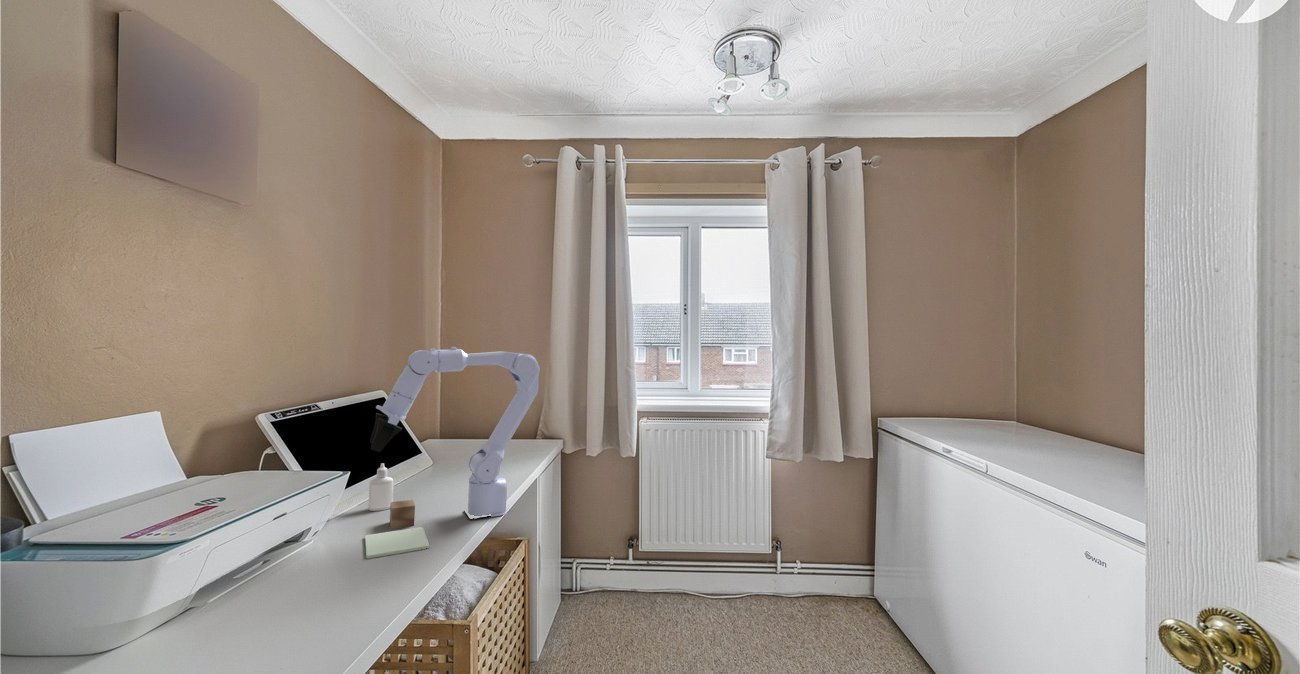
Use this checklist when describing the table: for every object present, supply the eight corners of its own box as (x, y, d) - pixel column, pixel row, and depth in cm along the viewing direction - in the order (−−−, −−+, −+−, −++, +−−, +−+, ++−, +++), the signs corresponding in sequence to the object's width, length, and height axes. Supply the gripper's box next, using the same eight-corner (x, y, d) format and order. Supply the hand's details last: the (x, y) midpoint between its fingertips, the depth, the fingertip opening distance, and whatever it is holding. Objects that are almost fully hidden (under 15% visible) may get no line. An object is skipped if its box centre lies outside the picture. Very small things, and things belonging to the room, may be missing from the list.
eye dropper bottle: (387, 511, 130) (389, 465, 130) (365, 511, 129) (367, 465, 129) (395, 506, 134) (396, 461, 134) (373, 505, 134) (375, 461, 134)
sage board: (422, 529, 119) (422, 526, 119) (429, 548, 108) (429, 545, 108) (365, 538, 112) (365, 535, 112) (366, 558, 102) (366, 555, 102)
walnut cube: (411, 519, 125) (412, 499, 125) (414, 526, 121) (415, 505, 121) (389, 522, 123) (390, 502, 123) (391, 529, 118) (392, 508, 118)
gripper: (385, 385, 126) (356, 435, 123) (388, 392, 113) (357, 447, 110) (412, 396, 129) (385, 445, 126) (418, 404, 116) (389, 458, 113)
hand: (374, 447), depth 118 cm, fingers open, 7 cm apart
